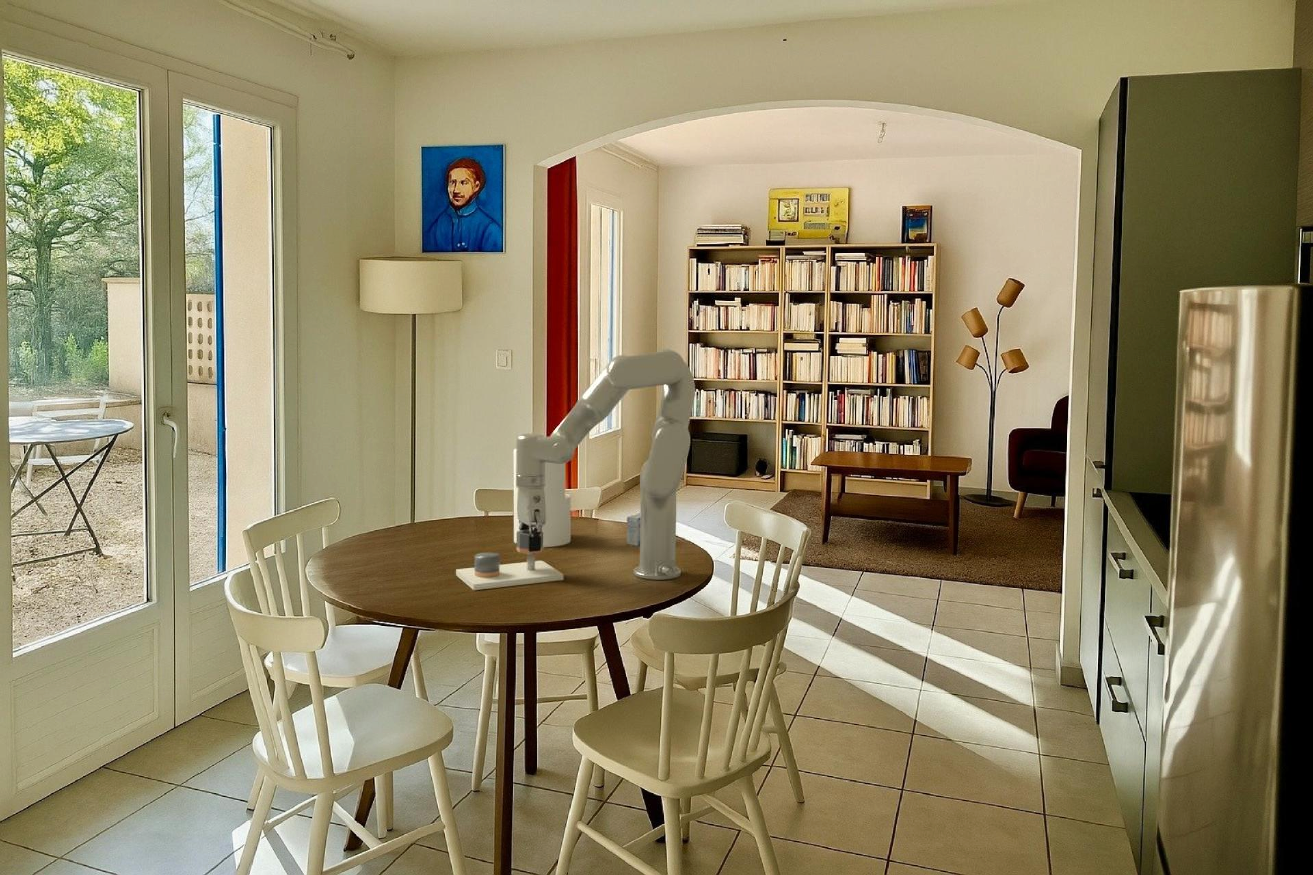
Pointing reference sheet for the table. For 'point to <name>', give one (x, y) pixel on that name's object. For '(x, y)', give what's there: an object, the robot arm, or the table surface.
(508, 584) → the pin board
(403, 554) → the table surface
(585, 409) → the robot arm
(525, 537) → the sleeve
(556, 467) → the cylinder
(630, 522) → the medicine box
